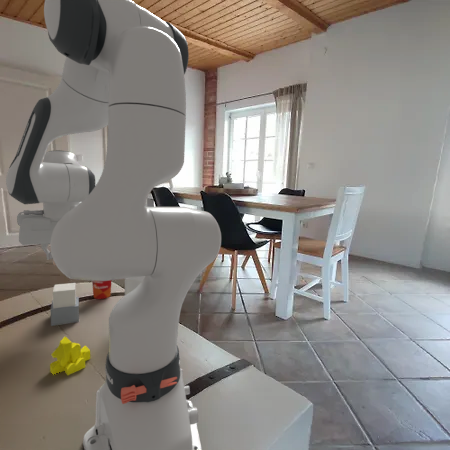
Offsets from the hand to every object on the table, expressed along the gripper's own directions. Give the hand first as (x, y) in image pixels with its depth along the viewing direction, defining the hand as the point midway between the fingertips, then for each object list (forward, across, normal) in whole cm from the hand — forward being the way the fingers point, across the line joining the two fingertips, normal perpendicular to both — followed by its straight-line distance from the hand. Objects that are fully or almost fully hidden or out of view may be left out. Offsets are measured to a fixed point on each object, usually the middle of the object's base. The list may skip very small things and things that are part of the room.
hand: (63, 257), depth 81 cm
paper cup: (+19, +11, +13) cm, 25 cm away
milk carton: (+19, +20, -11) cm, 30 cm away
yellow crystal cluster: (+19, +2, -24) cm, 31 cm away
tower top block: (+14, 0, 0) cm, 14 cm away
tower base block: (+19, 0, 0) cm, 19 cm away
